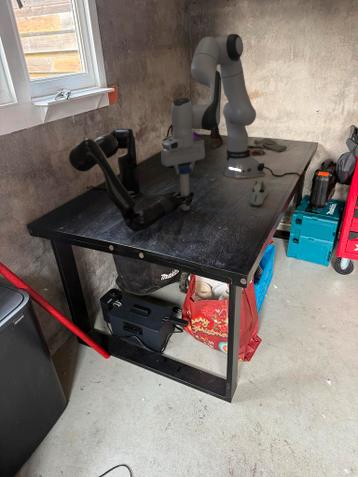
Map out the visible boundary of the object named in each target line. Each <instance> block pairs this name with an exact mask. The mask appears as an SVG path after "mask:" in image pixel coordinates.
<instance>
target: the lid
mask: <svg viewBox="0 0 358 477" xmlns="http://www.w3.org/2000/svg"><path fill="white" fill-rule="evenodd" d="M189 166H190V165H182V166H178V169H179V170H181V174H188V173H189V174H190V173H191V171H190V167H189Z"/></svg>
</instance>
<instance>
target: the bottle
mask: <svg viewBox="0 0 358 477" xmlns="http://www.w3.org/2000/svg"><path fill="white" fill-rule="evenodd" d="M179 185H180V192H181V196H182V195H188V194H189V193H191V192H190V173H188V174H179ZM186 199H187V197H186ZM180 206H181V210H183V211H189V210H190V209H191V204H190V205H189V206H186V204H183V205H180Z"/></svg>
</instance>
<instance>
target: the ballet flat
mask: <svg viewBox="0 0 358 477" xmlns="http://www.w3.org/2000/svg"><path fill="white" fill-rule="evenodd" d="M268 194H269V189H268V186H267V183H266V182H265V181H264V180H262V179H257V180H255V181H254V182H253V184H252V187H251V190H250V196H249V204H250V205H251V206H252V207H260V206H261V205H263V203H264V201H265V198H266V196H267V195H268Z"/></svg>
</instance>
